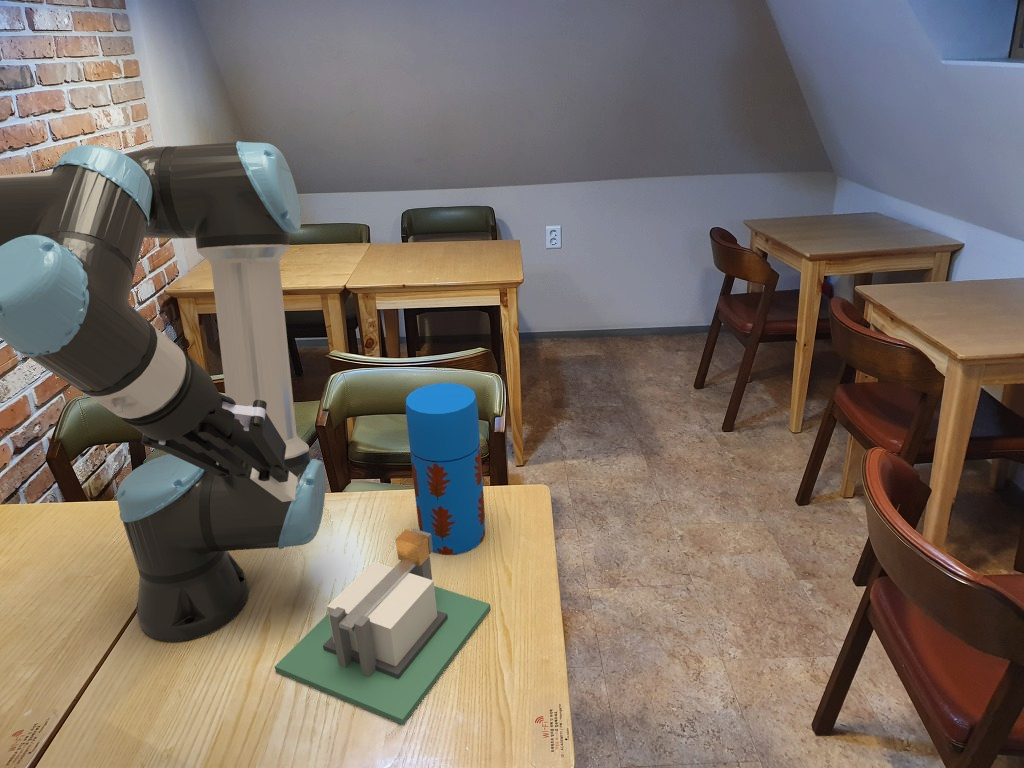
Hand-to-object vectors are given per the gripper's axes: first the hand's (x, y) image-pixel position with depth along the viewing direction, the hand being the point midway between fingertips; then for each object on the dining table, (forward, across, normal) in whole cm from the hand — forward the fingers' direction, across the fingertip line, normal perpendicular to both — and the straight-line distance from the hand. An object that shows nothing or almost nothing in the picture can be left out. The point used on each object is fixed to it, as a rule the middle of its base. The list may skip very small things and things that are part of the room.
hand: (289, 489), depth 85 cm
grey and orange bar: (+24, +1, -4) cm, 24 cm away
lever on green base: (+30, -1, -10) cm, 31 cm away
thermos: (+44, +4, +10) cm, 46 cm away
